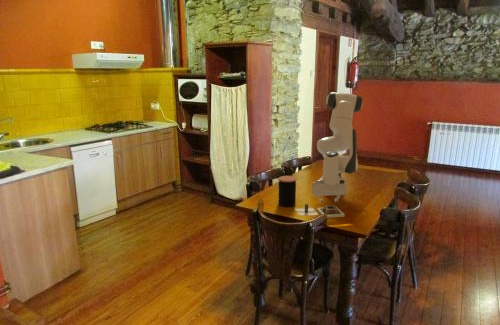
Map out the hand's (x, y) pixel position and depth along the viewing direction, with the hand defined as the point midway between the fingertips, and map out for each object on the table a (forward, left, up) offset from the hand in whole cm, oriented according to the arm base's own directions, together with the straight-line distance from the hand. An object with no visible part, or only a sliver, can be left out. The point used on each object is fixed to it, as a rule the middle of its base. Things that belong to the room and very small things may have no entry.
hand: (328, 202), depth 205 cm
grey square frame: (+1, +1, -8) cm, 8 cm away
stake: (-4, -12, -8) cm, 15 cm away
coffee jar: (-18, -20, -8) cm, 28 cm away
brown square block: (+1, +1, -7) cm, 7 cm away
